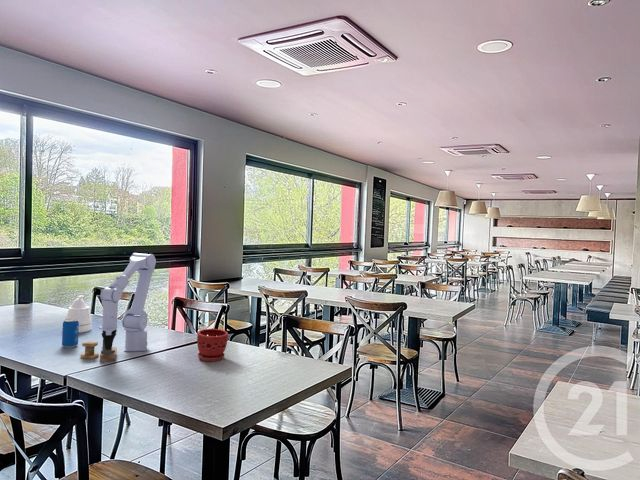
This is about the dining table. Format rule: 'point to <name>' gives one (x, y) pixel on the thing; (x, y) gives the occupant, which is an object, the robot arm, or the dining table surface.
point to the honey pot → (80, 314)
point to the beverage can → (70, 333)
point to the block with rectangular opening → (109, 356)
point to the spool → (89, 350)
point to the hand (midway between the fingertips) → (108, 348)
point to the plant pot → (211, 344)
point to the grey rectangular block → (105, 349)
